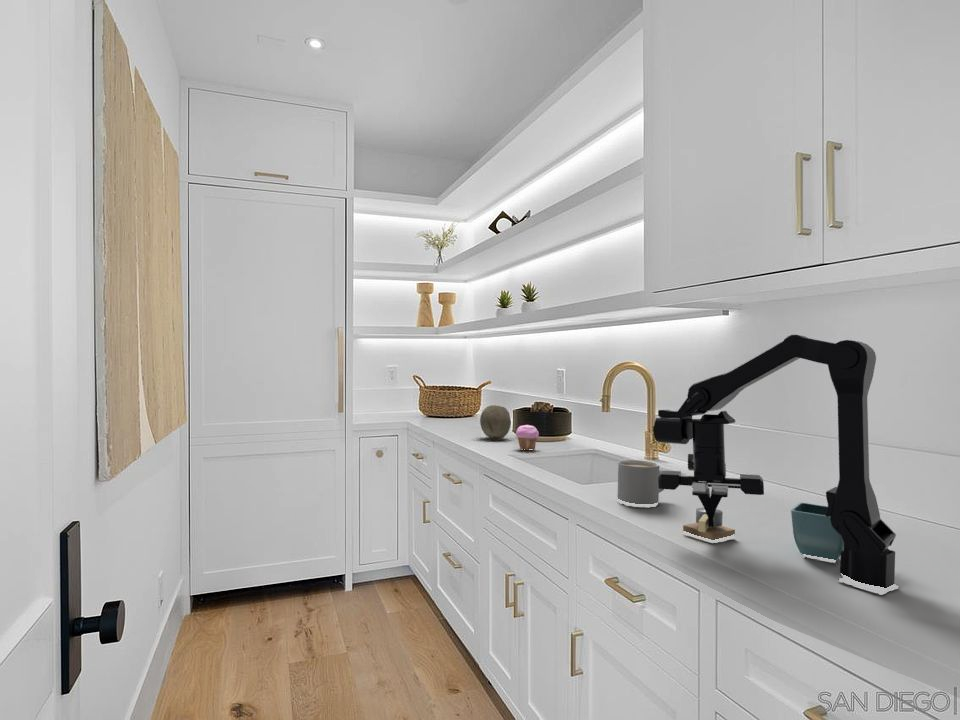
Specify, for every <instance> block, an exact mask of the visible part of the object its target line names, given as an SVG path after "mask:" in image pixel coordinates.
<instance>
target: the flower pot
mask: <svg viewBox="0 0 960 720" xmlns="http://www.w3.org/2000/svg"><path fill="white" fill-rule="evenodd" d="M827 511H828V505H827V506H826V505H819V504H815V503H814V504H813V503H807V502H798V503H797V504H796V505H794V507H792V508H791V509H790V513H791V516H790V517H791V522H792V523H791V525H792V534H793V539H794V542H795V545H796V547H797V549H798V551H799V553H800V554H801V553H802V554H806V555H811V556H817V557H823V558H828V559H834V560H837V561H839V558H840V554H841V551H843V550H844V541H843V539H842V536H841V535H840V534H839V533H838V532H837V531H836V530H835V529H834V528H833V527H832V525H831V521H830V516H828V517H826V513H827ZM802 554H801V555H802Z"/></svg>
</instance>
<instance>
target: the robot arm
mask: <svg viewBox="0 0 960 720" xmlns="http://www.w3.org/2000/svg"><path fill="white" fill-rule="evenodd" d="M799 359H803V360H807V361H811V362H815V363H817V364H823V365H827V367H828V371H829V377H830V380H831V382H832V385H833V388H834V390H835V392H836V396H837V397H836V398H837V429H838V432H837V433H838V435H837V436H838V437H837V438H838V469H839V471H838V472H839V473H838V474H839V477H838V478H839V479H838V482H837V486H834V487H833V488H831V489H829V490H827V491H825V498H826V501H827V506H828V511H827V513H826V517H828V516H830V521H831V525H832V527H833V528H834V529H835V530H836V531H837V532H838V533H839V534H840V535H841V536H842V539H843V541H844V550H843V551H841V554H840V557H839V558H840V560H839V561H840V563H839V574H840V573H842V574H843V575H846V576H848V577H850V578H851V579H853V580H855V581H858V582H861V583H865V584H869V585H874V586H880V587H884V588H887V587H889V586H891V585H893V584H895V577H896V576H895V571H896V570H895V569H896V567H895V566H896V551H894V550H891V549H889V547H890V546H892V545H893V543H894V540H895V538H896V536H897V533H895V532H894V531H893V530H892V528H890V526H888V525H887V524H886V522H885V521H884V520H883V519H882V518H881V513H880V510H879V509H880V508H879V505H878V501H877V496H876V495H875V491H874V489H873V486H872V484H871V481H870V457H869V455H870V454H869V451H870V450H869V420H868V418H869V416H868V415H869V414H868V413H869V411H868V395H869V391H870V387H871V384H872V382H873V377H874V375H875V374H874V372H875V368H876V367H875V366H876V361H877V355H876V352H875V350H874V348H872V347H871V346H870V345H869V344H867V343H865V342H862V341H858V340H857V341H856V340H852V339H850V340H849V339H845V340H840V341H838V342H836V343H835V342H829V341H825V340H821V339H820V340H819V339H815V338H810V337H809V338H808V337H807V336H805V335H799V334H790V335H787V336H786V337H784V339H782V340H781V341H780V342H778V343H776V344H775V345H773V346H771V347H769V348H767V349H766V350H764V351H763V352H760V353H759V354H757V355H755V356H753V357H751V358H749V360H748V359H747V361H745V362H743V363H741V364H739V365H738V366H736V367H734V368H733V369H731V370H730V371H728V372H727V371H726V372H725V373H722V374H717V375H715V376H711V377H708V378H706V379H704V380H700V381H697V382H695V383H693V384H692V385H691V386H690V387H688V391H687V397H686V398H685V400H684V402H683V403H682V404H681V406H680V407H679V409H678V410H671V409H658V411H657V415H658V416H656V417H655V420H654V423H653V426H652V433H653V437H654V440H655V442H657V443H660V444H661V443H662V444H663V443H665V444H675V445H676V444H678V445H687V444H689V442H690V440H692V453H687V469H688V471H691V472H692V471H693V475H682V472H681V470H663V472H662V473H661V474H660V475H659V477H658V488H659V489H664V490H670V491H671V490H672V491H673V490H674V491H675V490H676V489H677V488H679V486H690V487H691V488H692V491H691V492H692V493H691V495H692V496H696V497H698V499H699V502H701V503H700V504H702V506H703V508H704V509H705V511H706V514H707V516H708V527H711V526H712V527H714V514H715V511H716V509H718V506H719V504H720V502H721V500H722V499H723V498H728V497H729V495H728V494H729V489H740V490H741V492H743V493H744V494H745V495H753V496H754V495H755V496H762V495H763V496H764V495H765V491H764V490H765V487H764V485H765V484H764V479H763V477H762V476H761V475H760V474H744V473H743V474H741V473H740V474H739V478H737V477H736V478H735V477H734V478H733V477H732V478H731V477H727V466H726V464H727V463H726V456H725V455H726V454H725V453H726V451H725V450H726V449H725V425H730V424H735V423H736V419H735V418H734V417H733V416H731V415H730V414H729V413H728V411H726V410H722V409H723V408H724V407H726V406H727V405H728V404H729V403H730V402H732V401H733V400H734V399H735V398H736V397H737V396H738V395H739V394H740V393H741V392H742V391H743V390H745V389H746V388H748V387H750V386H751V385H754V384H755V383H757V382H759V381H760V380H762V379H764V378H766V377H768V376H770V375H772V374H773V373H775V372H777V371H778V370H781V369H782V368H785V367H786V366H788V365H791V364H792V363H794V362H796V361H798V360H799ZM720 410H721V411H720ZM712 411H713V412H714V411H720V412H719V413H717V414H713V413H712V414H711V413H710V414H708V412H712ZM694 416H701V417H700V418H693V417H694ZM710 488H711V489H710Z"/></svg>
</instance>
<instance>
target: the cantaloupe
mask: <svg viewBox="0 0 960 720" xmlns="http://www.w3.org/2000/svg"><path fill="white" fill-rule="evenodd" d="M479 424H480V429H481V430H482V432H483V434H484V435H485V436H486V437H488V438H489V439H491V440H493V439H494V440H493V441H499V440H498V439H500V440H502V439H503V438H505V437H506V436H507V435H508V433H509V431H510V429H511V426H512V420H511V416H510V412H509V411H508V409H507V408H506V407H504V406H501V405H489V406H486V407H485V408H484V409H483V410H482V412H481V415H480V418H479Z"/></svg>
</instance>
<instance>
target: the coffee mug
mask: <svg viewBox="0 0 960 720" xmlns="http://www.w3.org/2000/svg"><path fill="white" fill-rule="evenodd" d="M617 467H618V469H617V471H618V472H617V495H616V496H617V497H618V499H620V500H622V501H625V502H629V503H635V504H654V503H657V502H658V503H659V498H660V497H659V495H660V494H659V493H662V492H663V491H664V490H665V489H659V488H658V477H659V475H660V474H661V473H662V472H663V471H664V470H663V469H661V468H660V464H659V463H657V462H654V461H649V460H640V459H623V460H619V461H618V466H617Z"/></svg>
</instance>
